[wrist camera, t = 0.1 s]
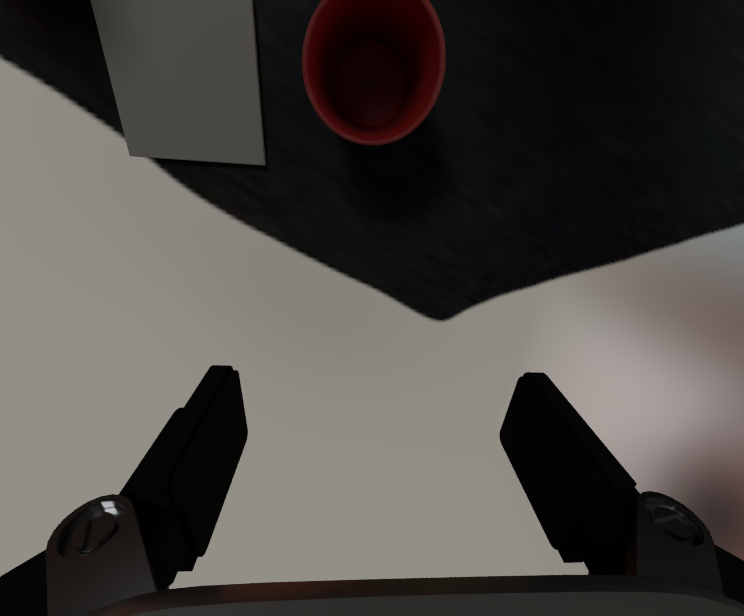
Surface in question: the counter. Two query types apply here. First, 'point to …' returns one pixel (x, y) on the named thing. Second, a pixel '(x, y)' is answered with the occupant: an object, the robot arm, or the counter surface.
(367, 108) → the flower pot
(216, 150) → the tile
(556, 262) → the counter surface
